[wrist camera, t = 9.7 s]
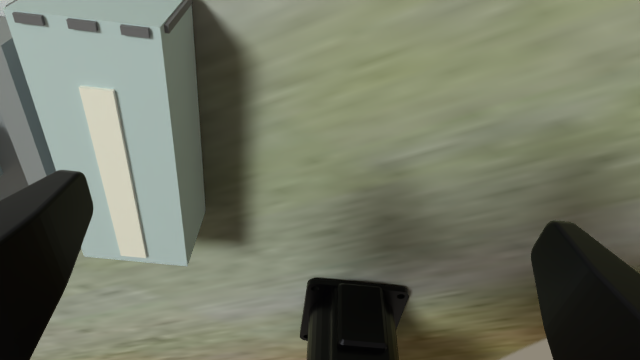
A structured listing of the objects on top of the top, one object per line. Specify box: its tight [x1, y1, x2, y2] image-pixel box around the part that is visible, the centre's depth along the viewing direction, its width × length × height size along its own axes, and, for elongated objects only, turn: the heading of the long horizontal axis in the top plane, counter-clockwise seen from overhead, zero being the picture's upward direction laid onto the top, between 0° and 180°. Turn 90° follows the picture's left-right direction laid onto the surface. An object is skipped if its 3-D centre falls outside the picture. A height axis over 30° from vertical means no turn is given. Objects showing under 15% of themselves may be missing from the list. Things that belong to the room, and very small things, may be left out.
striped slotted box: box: [3, 0, 206, 266], centre depth 20 cm, size 12×5×4 cm, turn 174°
